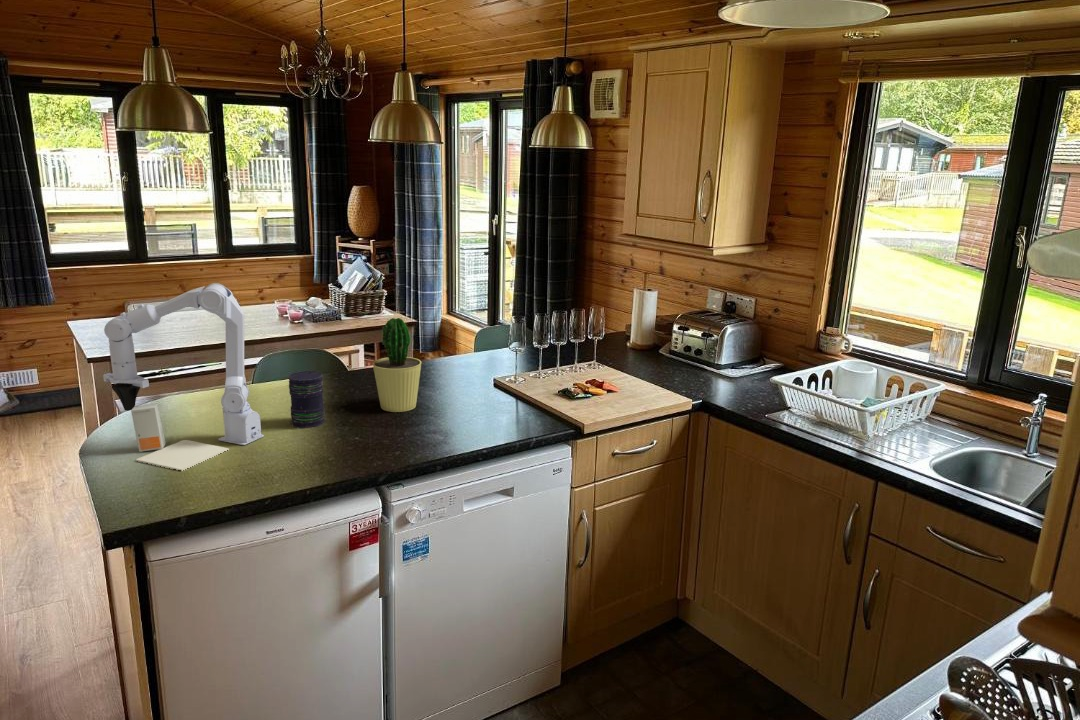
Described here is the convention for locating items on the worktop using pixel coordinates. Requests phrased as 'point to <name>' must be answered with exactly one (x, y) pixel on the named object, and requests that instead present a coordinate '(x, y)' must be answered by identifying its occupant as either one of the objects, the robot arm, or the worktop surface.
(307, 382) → the storage jar
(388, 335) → the potted cactus
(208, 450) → the mat
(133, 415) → the skincare box
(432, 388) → the worktop surface
